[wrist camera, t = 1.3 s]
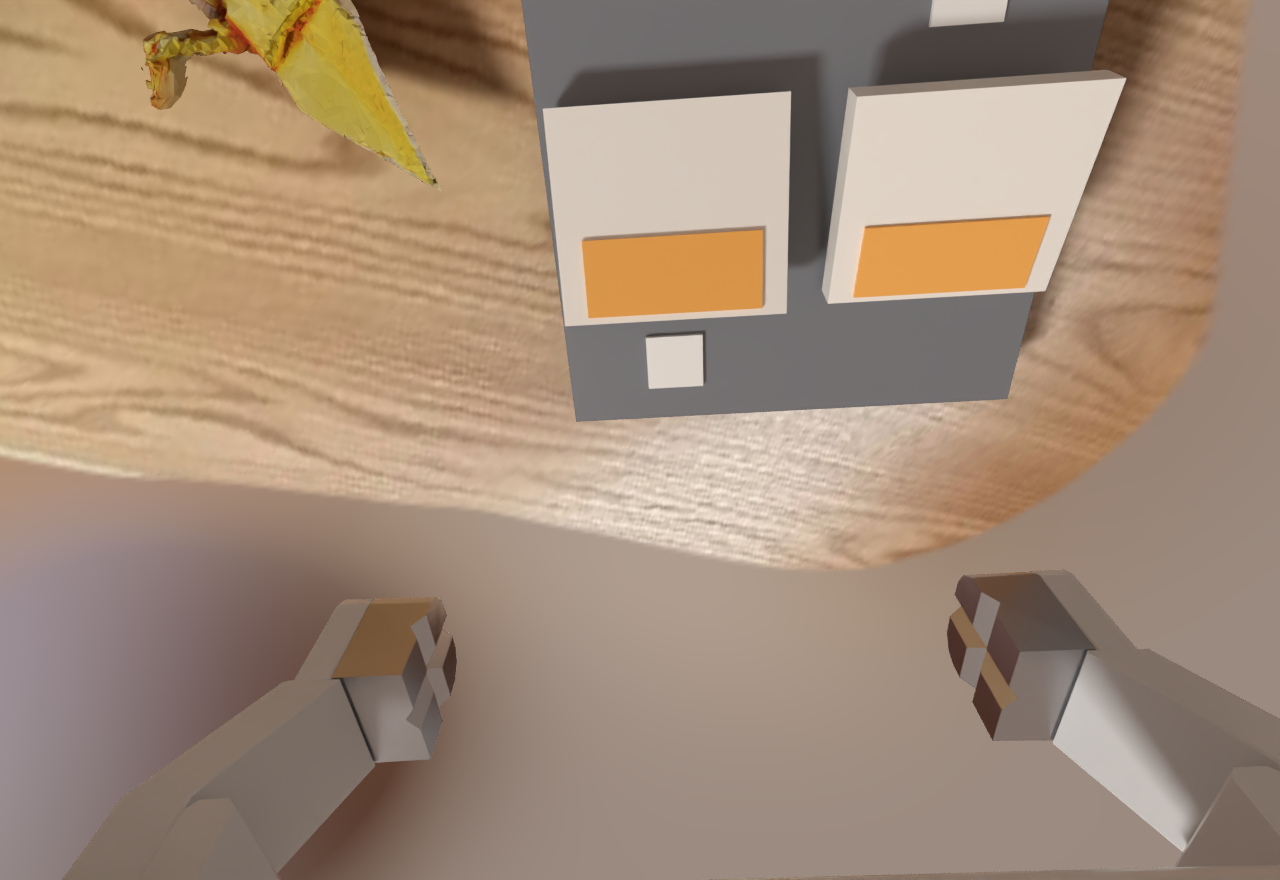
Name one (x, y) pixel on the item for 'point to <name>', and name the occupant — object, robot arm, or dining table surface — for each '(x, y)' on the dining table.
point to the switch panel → (796, 191)
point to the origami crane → (299, 68)
